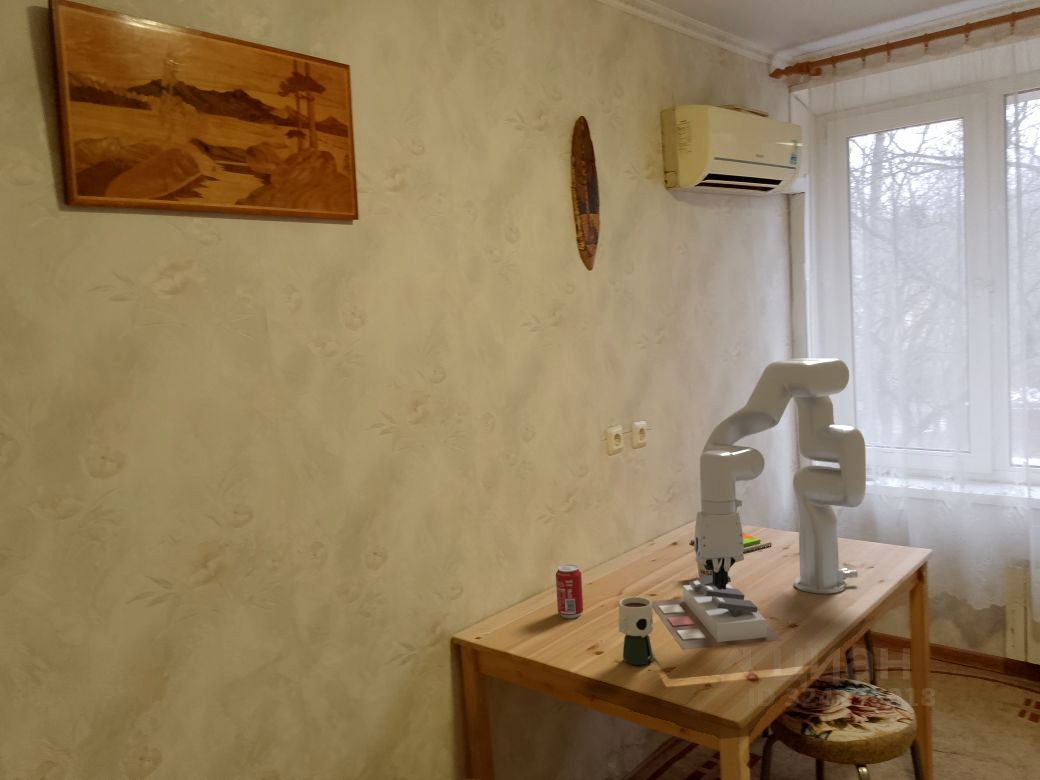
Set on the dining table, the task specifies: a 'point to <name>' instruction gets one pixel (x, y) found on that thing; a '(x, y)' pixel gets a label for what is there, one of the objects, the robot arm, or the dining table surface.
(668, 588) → the dining table surface
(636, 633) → the character mug
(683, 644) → the chart board
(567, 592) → the beverage can
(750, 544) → the wooden puzzle
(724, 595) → the rocker middle
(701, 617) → the switch housing
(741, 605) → the rocker near
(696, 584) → the block
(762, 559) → the dining table surface
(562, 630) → the dining table surface
